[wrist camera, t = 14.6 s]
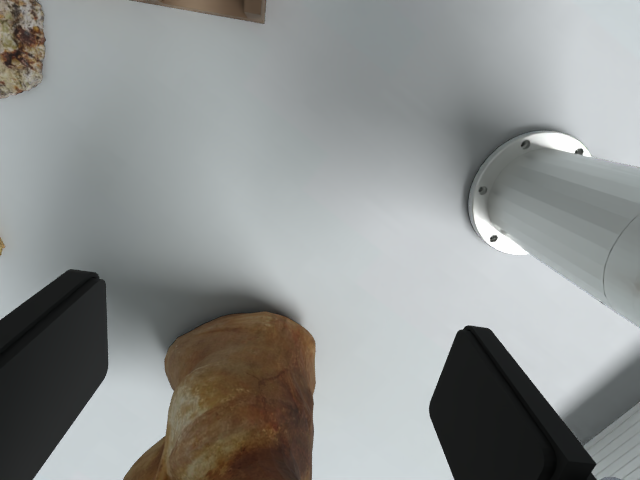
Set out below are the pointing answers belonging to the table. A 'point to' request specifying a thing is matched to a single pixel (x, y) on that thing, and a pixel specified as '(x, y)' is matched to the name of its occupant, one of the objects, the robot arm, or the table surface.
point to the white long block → (618, 448)
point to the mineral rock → (20, 46)
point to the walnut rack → (219, 7)
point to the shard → (1, 246)
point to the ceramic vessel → (237, 403)
